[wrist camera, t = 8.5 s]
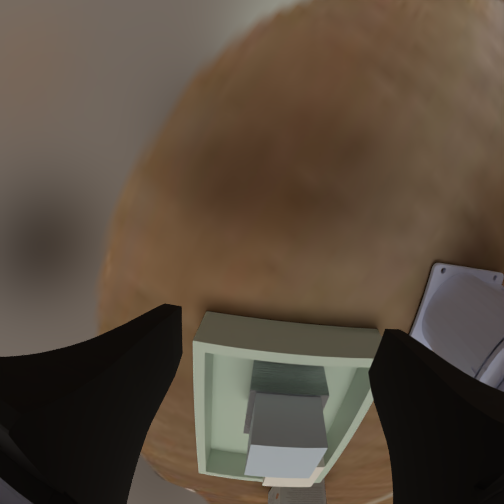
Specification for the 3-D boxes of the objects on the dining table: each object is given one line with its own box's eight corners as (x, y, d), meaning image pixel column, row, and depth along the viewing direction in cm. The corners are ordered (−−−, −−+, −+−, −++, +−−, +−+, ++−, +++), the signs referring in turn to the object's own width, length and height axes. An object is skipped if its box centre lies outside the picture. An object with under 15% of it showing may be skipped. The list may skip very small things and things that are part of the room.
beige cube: (320, 428, 23) (324, 467, 19) (308, 451, 25) (310, 486, 20) (271, 426, 24) (269, 465, 19) (264, 449, 25) (262, 485, 20)
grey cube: (320, 397, 17) (328, 447, 13) (306, 432, 18) (309, 478, 14) (256, 392, 17) (250, 444, 13) (249, 428, 19) (244, 474, 14)
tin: (322, 361, 21) (329, 395, 17) (307, 405, 22) (310, 438, 19) (254, 354, 21) (250, 389, 17) (247, 399, 23) (243, 433, 19)
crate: (377, 328, 20) (393, 358, 16) (318, 457, 26) (320, 482, 22) (206, 311, 21) (192, 340, 17) (205, 447, 27) (198, 472, 23)
